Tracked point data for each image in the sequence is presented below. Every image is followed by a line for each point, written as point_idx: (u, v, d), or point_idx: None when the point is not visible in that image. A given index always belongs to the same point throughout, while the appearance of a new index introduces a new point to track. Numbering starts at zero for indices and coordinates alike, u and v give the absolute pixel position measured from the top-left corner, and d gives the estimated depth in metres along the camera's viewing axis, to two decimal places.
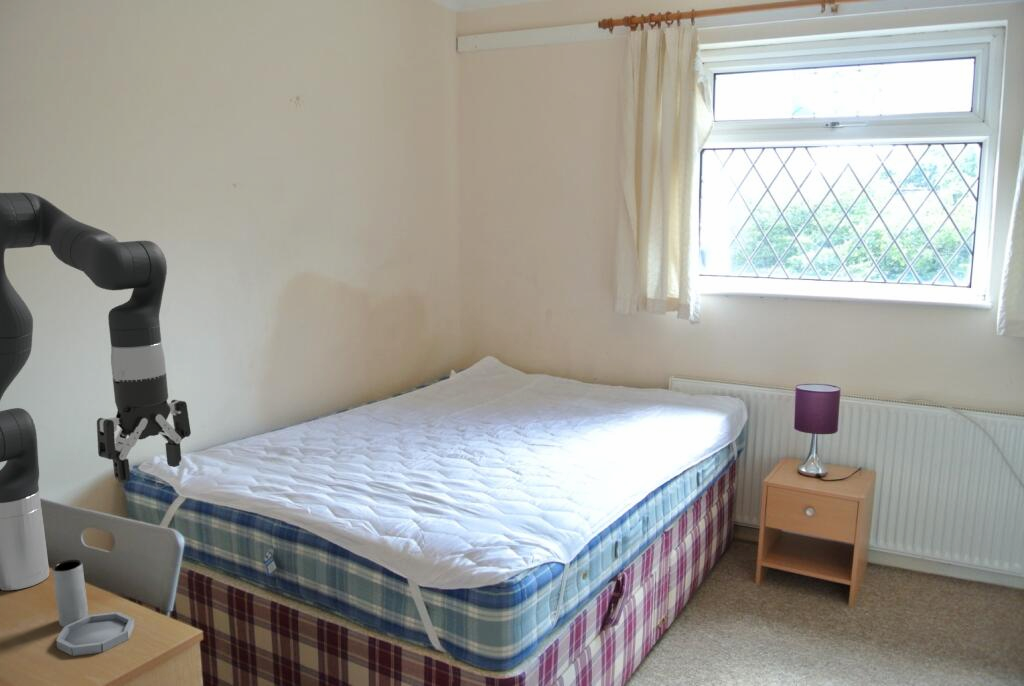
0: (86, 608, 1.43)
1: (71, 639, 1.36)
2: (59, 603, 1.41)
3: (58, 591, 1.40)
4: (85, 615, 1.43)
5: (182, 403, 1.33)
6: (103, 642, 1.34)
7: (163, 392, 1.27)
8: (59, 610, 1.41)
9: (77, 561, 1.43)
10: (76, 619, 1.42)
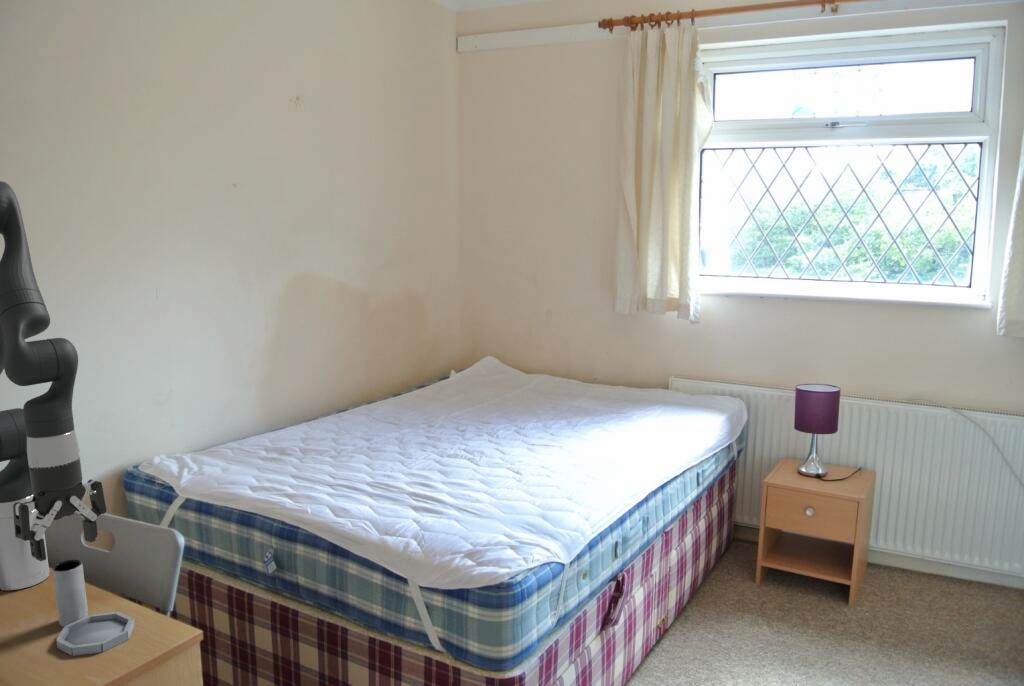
0: (86, 608, 1.43)
1: (71, 639, 1.36)
2: (59, 603, 1.41)
3: (58, 591, 1.40)
4: (85, 615, 1.43)
5: (97, 483, 1.44)
6: (103, 642, 1.34)
7: (76, 476, 1.38)
8: (59, 610, 1.41)
9: (77, 561, 1.43)
10: (76, 619, 1.42)
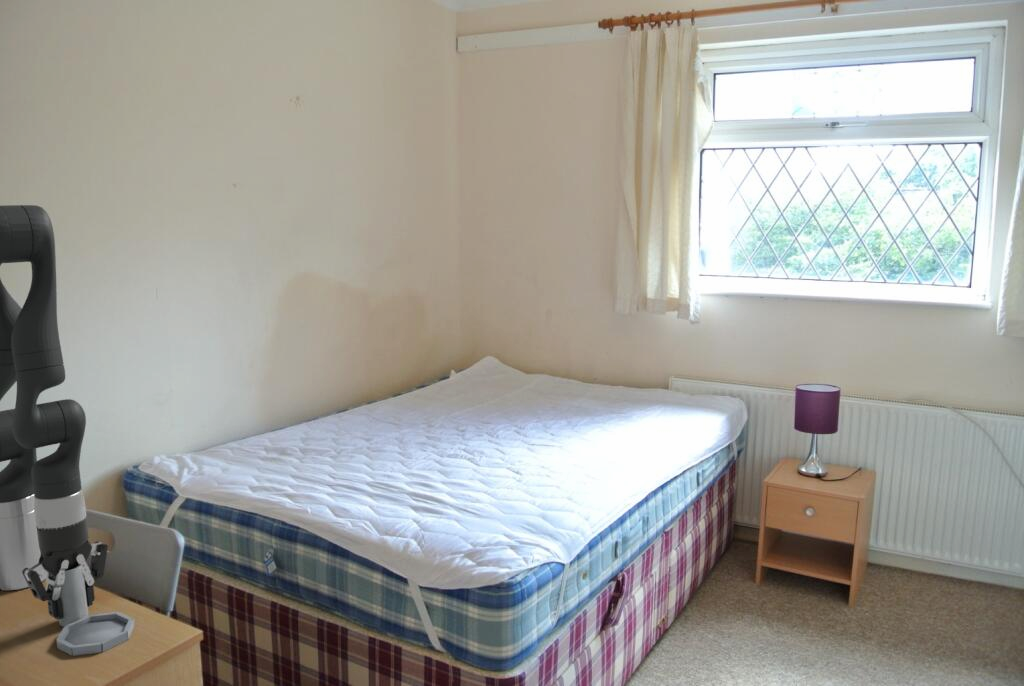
0: (86, 608, 1.43)
1: (71, 639, 1.36)
2: None
3: None
4: (85, 615, 1.43)
5: (104, 545, 1.46)
6: (103, 642, 1.34)
7: (82, 535, 1.40)
8: None
9: None
10: (76, 619, 1.42)
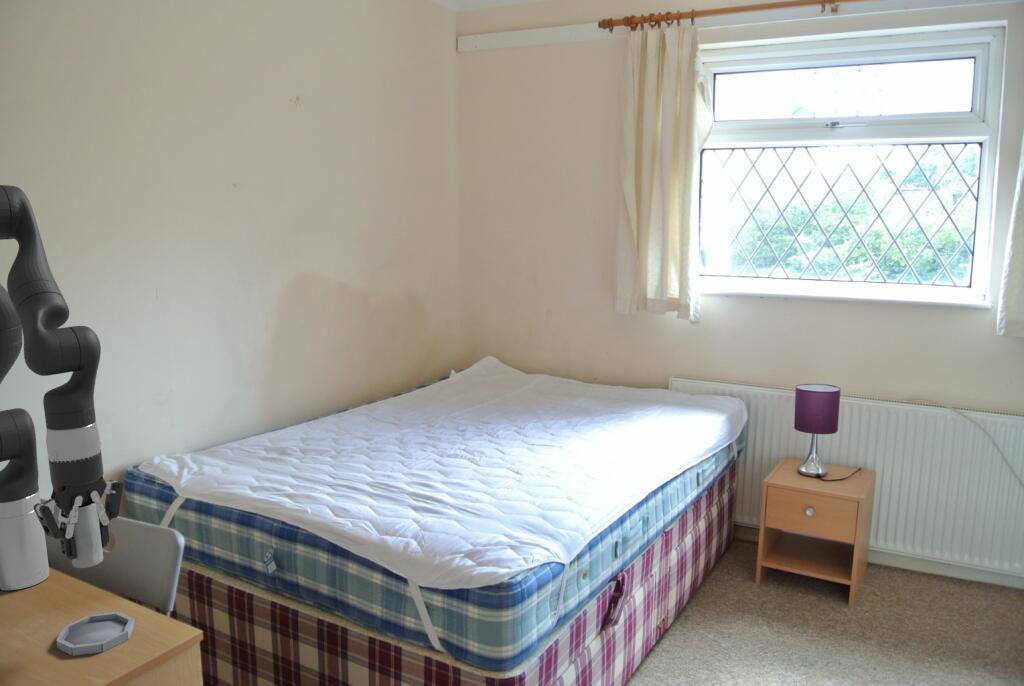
0: (101, 549, 1.36)
1: (71, 639, 1.36)
2: None
3: None
4: (100, 556, 1.35)
5: (119, 484, 1.38)
6: (103, 642, 1.34)
7: (97, 470, 1.32)
8: None
9: None
10: (90, 559, 1.34)
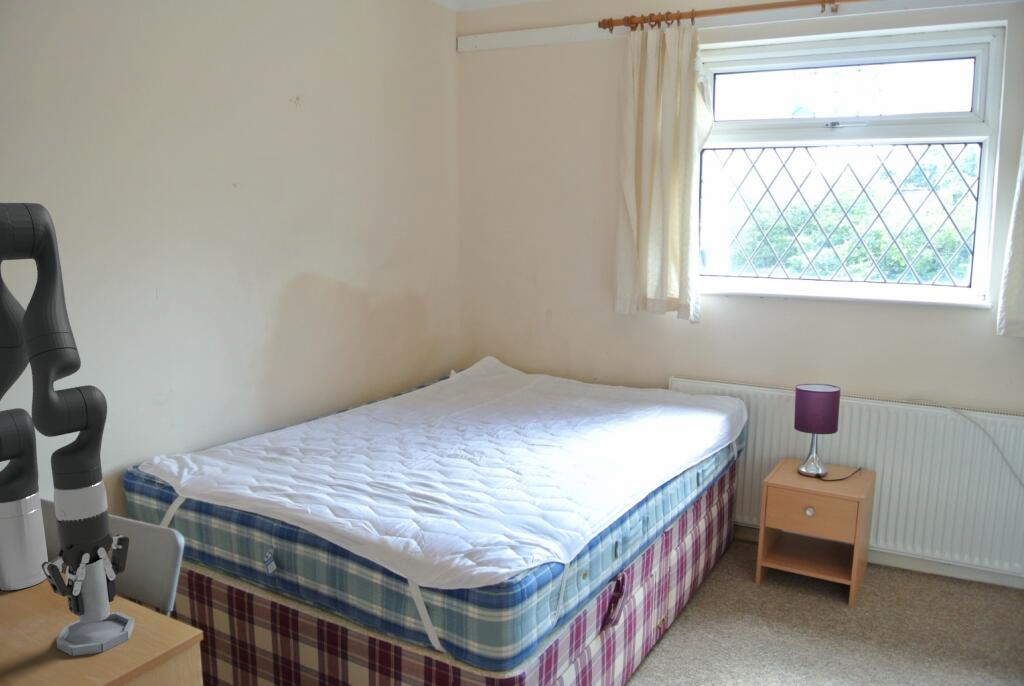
0: (107, 604, 1.37)
1: (71, 639, 1.36)
2: None
3: None
4: (106, 611, 1.37)
5: (125, 539, 1.40)
6: (103, 642, 1.34)
7: (104, 528, 1.34)
8: None
9: None
10: (97, 615, 1.35)
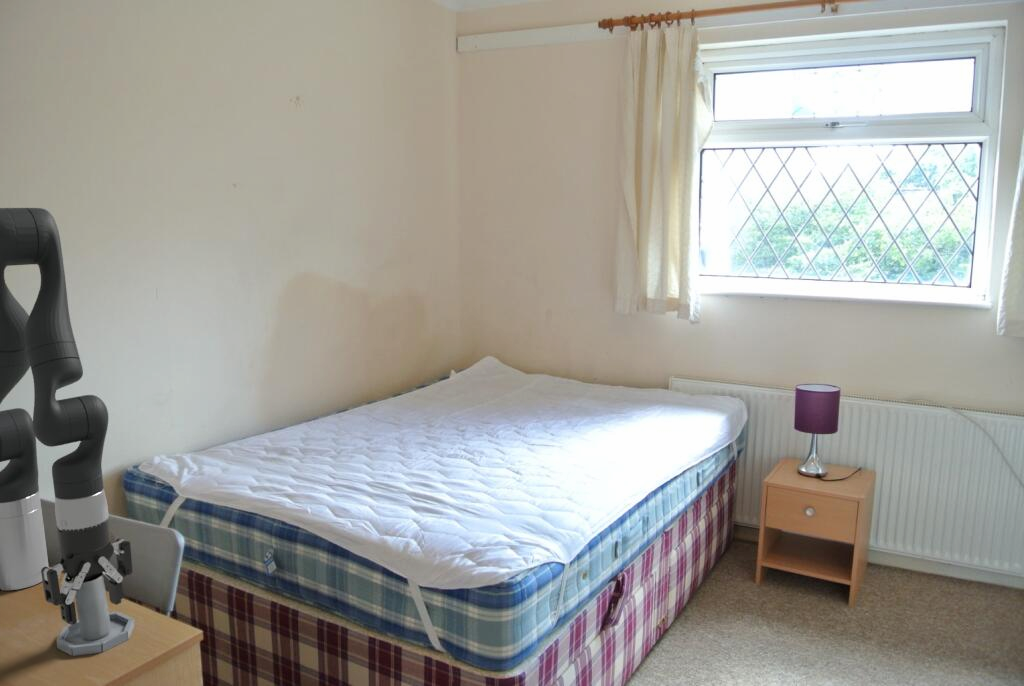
0: (108, 620, 1.38)
1: (71, 639, 1.36)
2: (80, 616, 1.35)
3: (79, 603, 1.35)
4: (108, 627, 1.37)
5: (126, 543, 1.40)
6: (103, 642, 1.34)
7: (105, 537, 1.34)
8: (81, 623, 1.36)
9: None
10: (98, 632, 1.36)
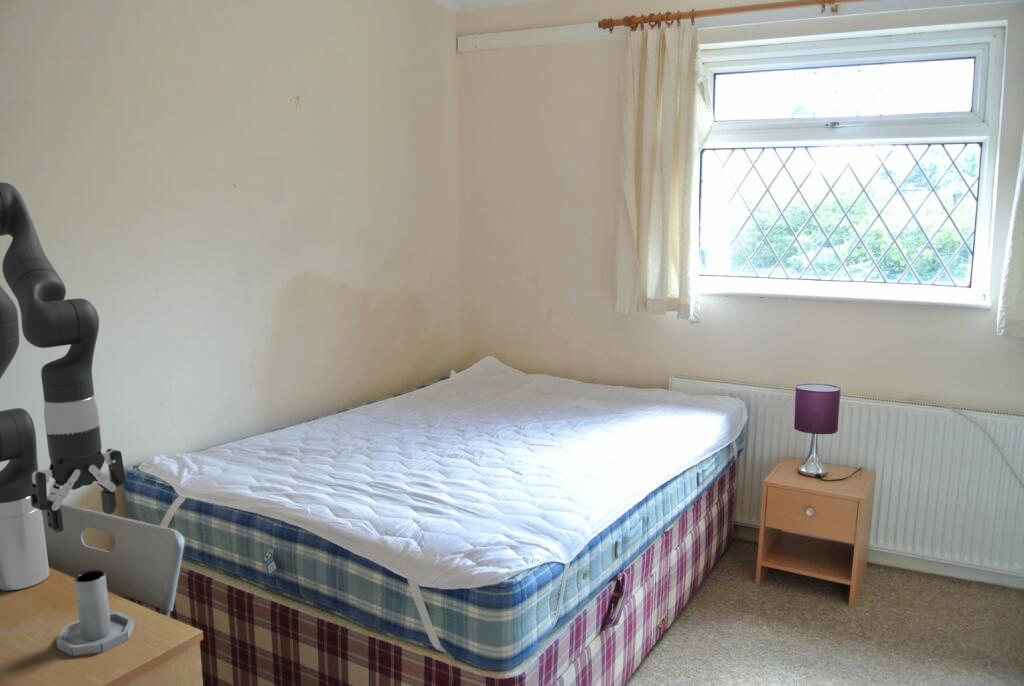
0: (109, 620, 1.38)
1: (71, 639, 1.36)
2: (81, 615, 1.35)
3: (81, 603, 1.35)
4: (108, 628, 1.38)
5: (116, 453, 1.37)
6: (103, 642, 1.34)
7: (95, 444, 1.32)
8: (81, 623, 1.36)
9: (100, 572, 1.38)
10: (99, 632, 1.36)
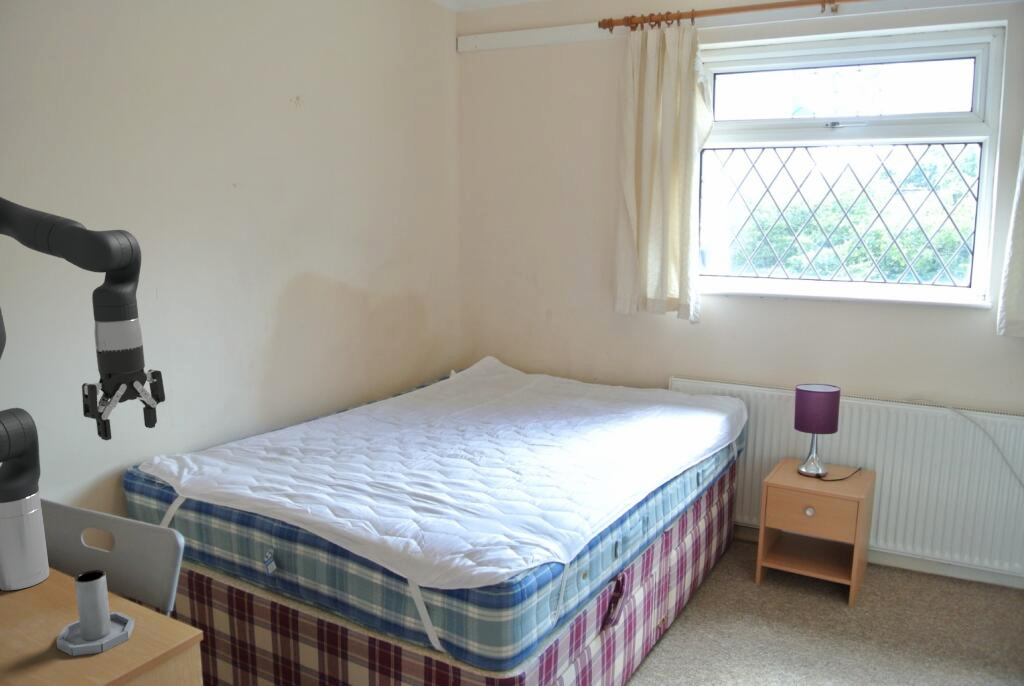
0: (109, 620, 1.38)
1: (71, 639, 1.36)
2: (81, 615, 1.35)
3: (81, 603, 1.35)
4: (108, 628, 1.38)
5: (157, 372, 1.52)
6: (103, 642, 1.34)
7: (140, 361, 1.46)
8: (81, 623, 1.36)
9: (100, 572, 1.38)
10: (99, 632, 1.36)
